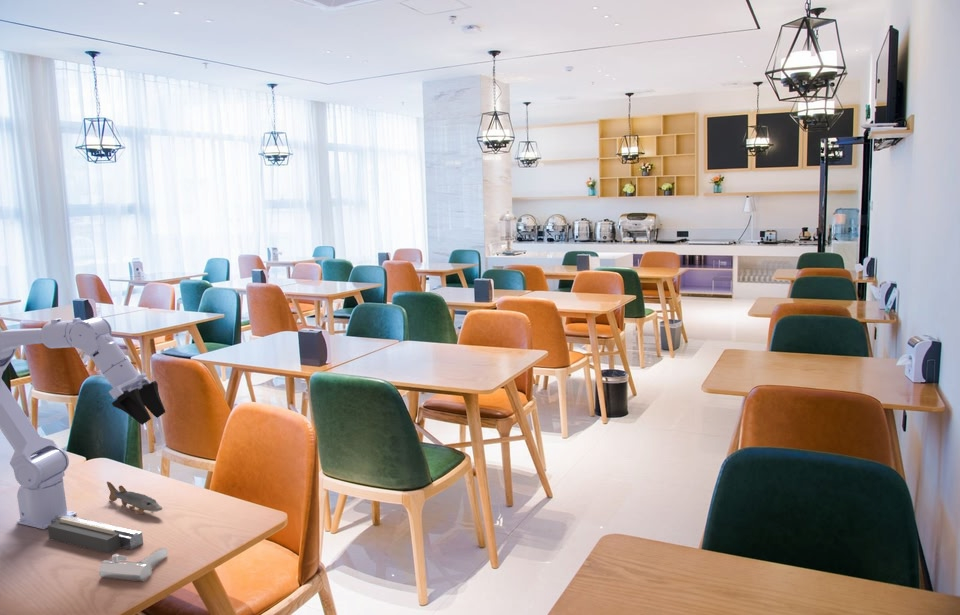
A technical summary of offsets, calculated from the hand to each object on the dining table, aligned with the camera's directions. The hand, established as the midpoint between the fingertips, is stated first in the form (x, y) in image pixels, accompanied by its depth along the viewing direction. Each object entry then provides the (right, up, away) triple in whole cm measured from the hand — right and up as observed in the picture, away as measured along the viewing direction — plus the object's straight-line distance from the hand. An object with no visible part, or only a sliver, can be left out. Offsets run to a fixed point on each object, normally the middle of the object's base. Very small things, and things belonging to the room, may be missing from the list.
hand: (154, 418), depth 150 cm
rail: (-12, -25, -1) cm, 28 cm away
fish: (-10, -23, +12) cm, 28 cm away
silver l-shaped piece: (+4, -27, -14) cm, 31 cm away
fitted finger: (-13, -25, -4) cm, 29 cm away
